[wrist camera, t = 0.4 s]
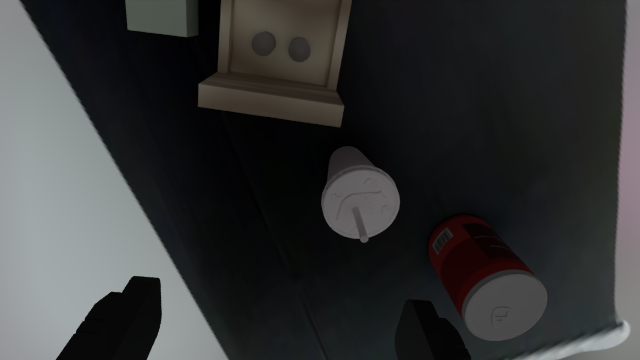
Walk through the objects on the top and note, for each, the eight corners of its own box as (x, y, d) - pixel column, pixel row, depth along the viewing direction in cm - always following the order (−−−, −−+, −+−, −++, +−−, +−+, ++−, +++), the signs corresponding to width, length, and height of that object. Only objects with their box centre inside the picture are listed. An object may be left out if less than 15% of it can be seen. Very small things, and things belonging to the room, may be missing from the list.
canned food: (427, 274, 45) (465, 348, 35) (423, 219, 41) (463, 283, 31) (489, 262, 44) (545, 333, 34) (490, 206, 41) (551, 266, 31)
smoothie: (304, 154, 37) (308, 224, 25) (358, 121, 36) (391, 176, 24) (336, 200, 40) (354, 286, 27) (387, 171, 39) (431, 245, 26)
